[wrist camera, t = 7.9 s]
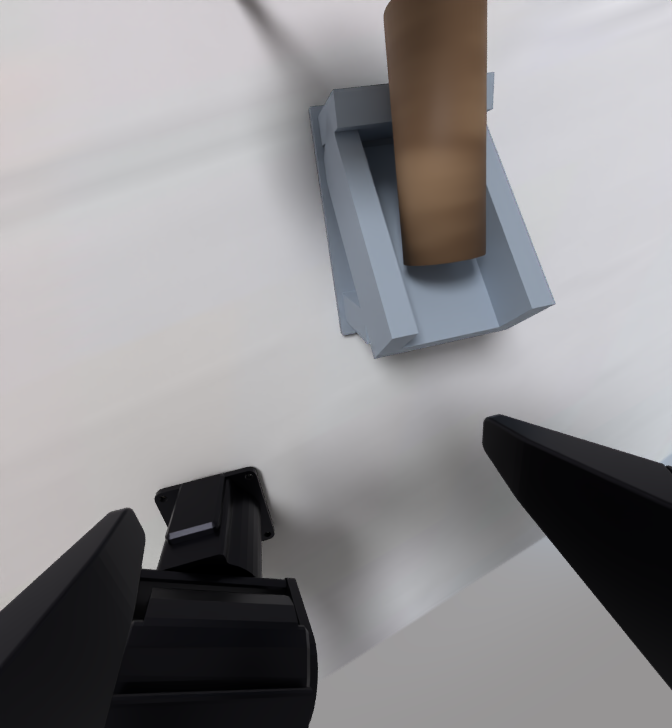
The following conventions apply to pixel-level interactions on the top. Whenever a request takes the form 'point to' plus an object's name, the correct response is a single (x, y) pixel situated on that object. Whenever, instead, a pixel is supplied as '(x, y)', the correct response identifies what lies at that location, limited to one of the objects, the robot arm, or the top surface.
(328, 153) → the cradle
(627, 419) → the top surface
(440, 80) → the peg
